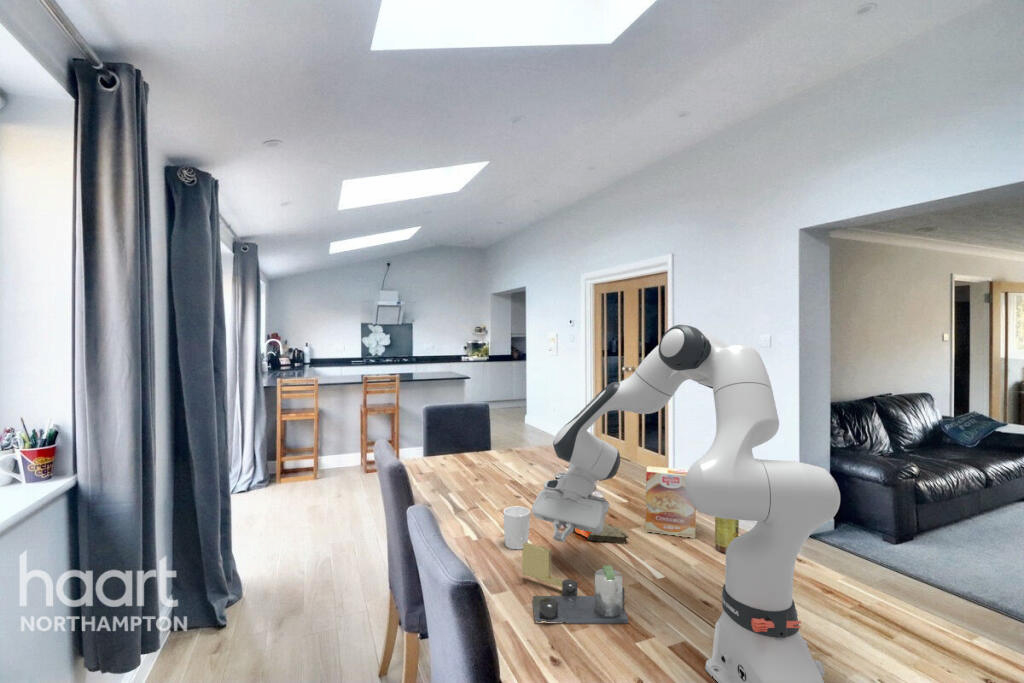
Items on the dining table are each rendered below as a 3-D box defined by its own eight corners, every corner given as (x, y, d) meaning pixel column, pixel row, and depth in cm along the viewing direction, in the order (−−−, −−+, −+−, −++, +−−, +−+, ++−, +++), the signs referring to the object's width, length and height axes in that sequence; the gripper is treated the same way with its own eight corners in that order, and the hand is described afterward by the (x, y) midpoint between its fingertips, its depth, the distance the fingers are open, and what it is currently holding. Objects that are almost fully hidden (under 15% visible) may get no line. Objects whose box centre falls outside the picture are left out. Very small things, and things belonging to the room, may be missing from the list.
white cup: (498, 547, 138) (498, 512, 138) (510, 537, 145) (511, 504, 145) (522, 553, 135) (522, 518, 135) (534, 542, 142) (534, 509, 142)
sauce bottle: (741, 556, 134) (742, 485, 134) (717, 553, 136) (718, 484, 135) (735, 546, 141) (736, 479, 141) (712, 544, 142) (713, 477, 142)
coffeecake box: (645, 532, 150) (645, 471, 150) (645, 524, 157) (646, 465, 156) (695, 539, 145) (696, 475, 145) (694, 530, 152) (695, 469, 152)
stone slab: (547, 520, 157) (550, 505, 158) (572, 519, 165) (575, 504, 165) (609, 554, 136) (612, 536, 137) (635, 550, 144) (638, 534, 144)
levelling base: (633, 624, 102) (634, 579, 101) (535, 624, 101) (535, 579, 101) (621, 599, 112) (622, 557, 111) (532, 598, 111) (533, 557, 111)
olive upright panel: (579, 592, 114) (580, 555, 114) (573, 598, 111) (573, 561, 111) (527, 574, 122) (527, 540, 122) (519, 580, 119) (520, 545, 119)
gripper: (614, 505, 128) (599, 555, 120) (547, 491, 139) (530, 536, 131) (607, 493, 124) (591, 544, 116) (540, 480, 135) (521, 525, 127)
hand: (558, 540), depth 123 cm, fingers closed
